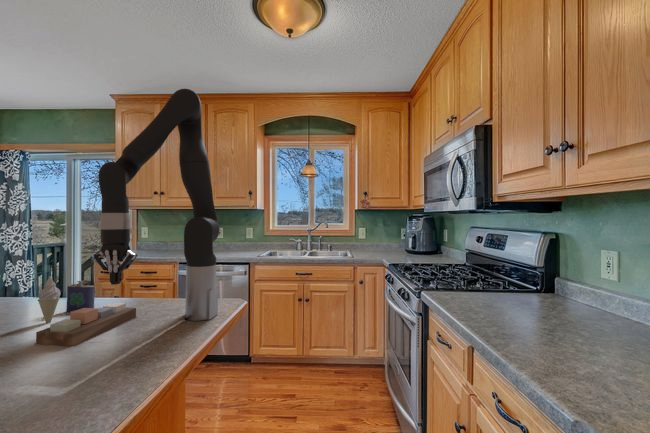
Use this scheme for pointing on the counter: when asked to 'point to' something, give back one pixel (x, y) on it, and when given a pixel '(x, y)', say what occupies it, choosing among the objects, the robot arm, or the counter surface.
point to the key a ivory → (116, 306)
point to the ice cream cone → (49, 299)
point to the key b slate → (104, 312)
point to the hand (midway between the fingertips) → (115, 284)
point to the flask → (79, 296)
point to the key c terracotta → (85, 315)
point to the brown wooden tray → (85, 330)
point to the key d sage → (65, 325)
